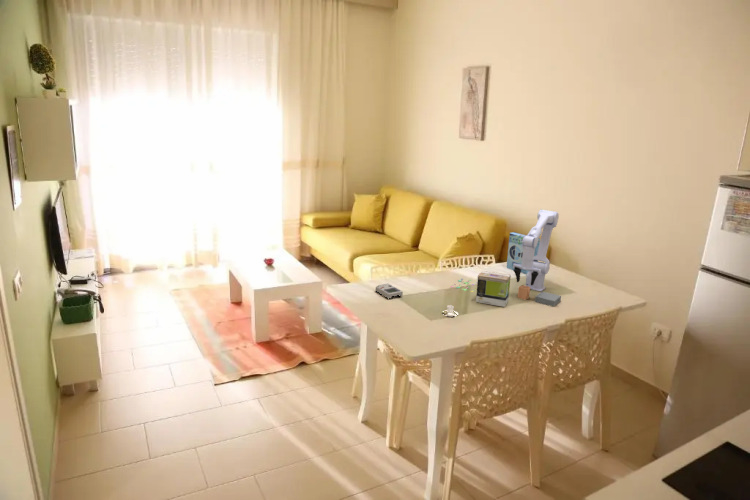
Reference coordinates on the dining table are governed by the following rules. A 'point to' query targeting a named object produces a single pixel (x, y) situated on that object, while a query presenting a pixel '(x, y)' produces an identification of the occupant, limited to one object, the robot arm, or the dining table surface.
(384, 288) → the handheld gaming device
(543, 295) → the slate base
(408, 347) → the dining table surface
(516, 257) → the gum box
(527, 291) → the terracotta block
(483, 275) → the tea box
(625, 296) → the dining table surface
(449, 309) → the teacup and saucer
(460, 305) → the dining table surface
